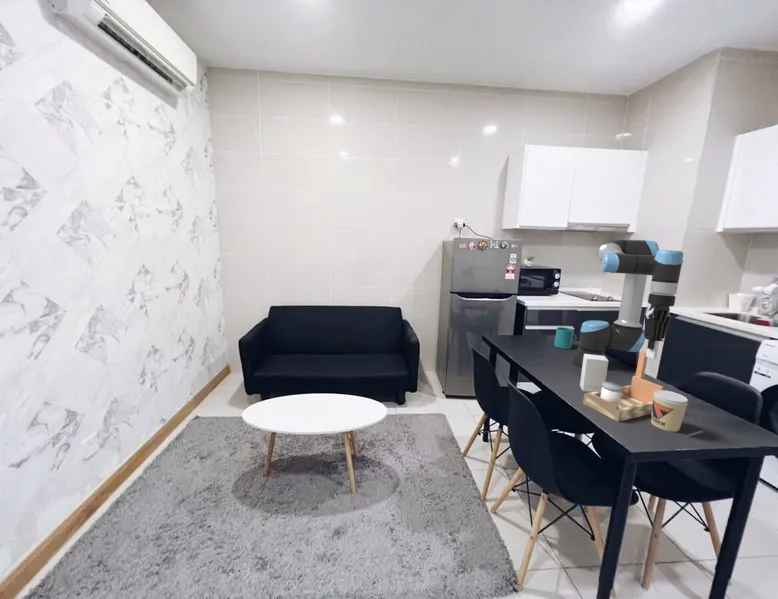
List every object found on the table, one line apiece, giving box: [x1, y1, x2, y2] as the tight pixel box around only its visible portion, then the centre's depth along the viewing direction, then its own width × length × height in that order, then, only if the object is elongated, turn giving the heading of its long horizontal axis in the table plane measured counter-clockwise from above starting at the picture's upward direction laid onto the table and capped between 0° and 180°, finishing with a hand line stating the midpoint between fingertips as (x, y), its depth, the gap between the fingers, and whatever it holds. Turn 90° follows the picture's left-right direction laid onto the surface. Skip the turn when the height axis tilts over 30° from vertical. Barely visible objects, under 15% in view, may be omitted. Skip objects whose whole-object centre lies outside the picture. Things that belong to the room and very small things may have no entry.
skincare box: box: [579, 354, 610, 393], centre depth 144 cm, size 8×7×16 cm
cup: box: [554, 326, 577, 350], centre depth 204 cm, size 9×12×11 cm
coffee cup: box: [650, 389, 689, 433], centre depth 118 cm, size 9×9×12 cm
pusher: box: [629, 351, 664, 403], centre depth 134 cm, size 4×11×19 cm, turn 22°
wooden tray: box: [582, 384, 653, 422], centre depth 131 cm, size 29×14×6 cm, turn 112°
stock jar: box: [600, 381, 622, 406], centre depth 127 cm, size 6×6×10 cm
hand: (650, 357), depth 124 cm, fingers closed
